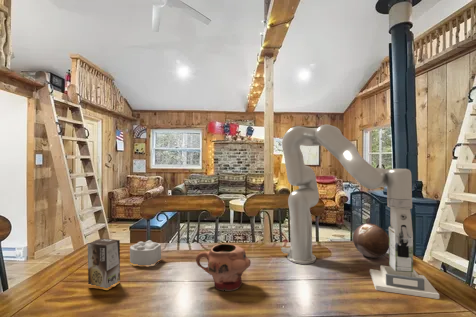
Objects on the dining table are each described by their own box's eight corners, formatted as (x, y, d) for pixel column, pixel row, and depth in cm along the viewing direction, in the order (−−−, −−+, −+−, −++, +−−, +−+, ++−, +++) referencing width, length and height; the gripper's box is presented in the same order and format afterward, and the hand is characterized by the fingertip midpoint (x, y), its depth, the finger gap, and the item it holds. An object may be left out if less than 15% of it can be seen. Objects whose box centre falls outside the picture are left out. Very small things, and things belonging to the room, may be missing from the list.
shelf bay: (375, 289, 87) (375, 275, 87) (369, 272, 100) (369, 260, 100) (439, 299, 81) (439, 283, 81) (424, 279, 94) (423, 266, 94)
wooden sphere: (347, 256, 117) (347, 223, 117) (361, 248, 127) (360, 218, 128) (383, 266, 106) (382, 230, 106) (394, 256, 116) (394, 223, 116)
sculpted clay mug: (191, 294, 86) (191, 252, 86) (198, 277, 98) (198, 241, 98) (251, 294, 85) (250, 253, 85) (250, 277, 97) (250, 241, 97)
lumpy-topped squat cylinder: (152, 268, 107) (152, 247, 107) (124, 266, 109) (124, 246, 109) (163, 258, 117) (163, 239, 117) (137, 257, 120) (137, 238, 120)
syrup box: (406, 266, 93) (405, 226, 93) (413, 273, 87) (412, 230, 87) (388, 265, 94) (388, 225, 94) (395, 271, 88) (394, 230, 88)
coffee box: (121, 283, 94) (120, 239, 94) (106, 292, 88) (106, 245, 88) (102, 279, 97) (101, 237, 97) (87, 287, 91) (86, 242, 91)
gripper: (419, 208, 81) (421, 264, 81) (404, 200, 97) (405, 246, 97) (392, 206, 84) (394, 261, 84) (382, 199, 100) (383, 244, 100)
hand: (400, 253), depth 90 cm, fingers closed on syrup box, 6 cm apart
